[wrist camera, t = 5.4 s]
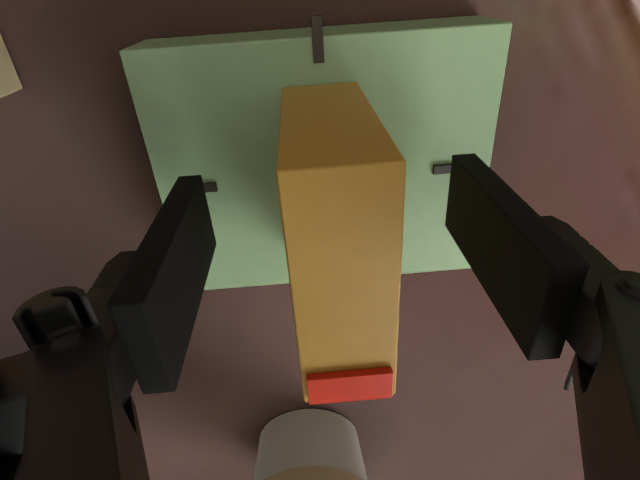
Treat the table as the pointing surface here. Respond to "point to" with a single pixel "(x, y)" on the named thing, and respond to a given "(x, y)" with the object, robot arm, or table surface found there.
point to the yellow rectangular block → (341, 240)
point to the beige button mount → (7, 72)
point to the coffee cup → (309, 448)
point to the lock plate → (264, 121)
